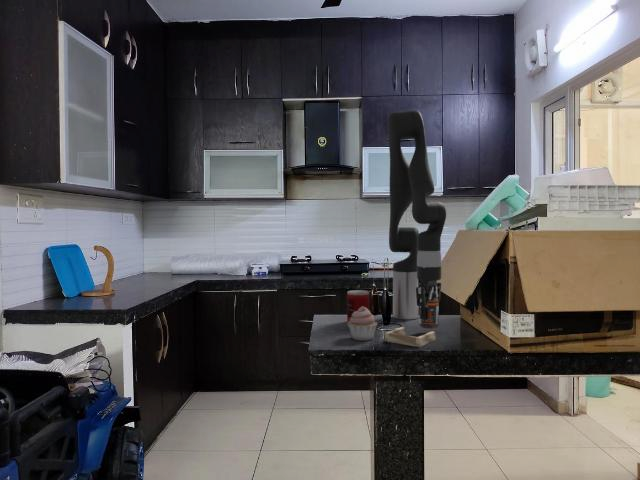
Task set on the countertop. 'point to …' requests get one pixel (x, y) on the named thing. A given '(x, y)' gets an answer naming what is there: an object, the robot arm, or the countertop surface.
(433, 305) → the supplement bottle
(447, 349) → the countertop surface
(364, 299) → the canned food
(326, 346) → the countertop surface
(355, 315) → the cupcake
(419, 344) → the keeper
